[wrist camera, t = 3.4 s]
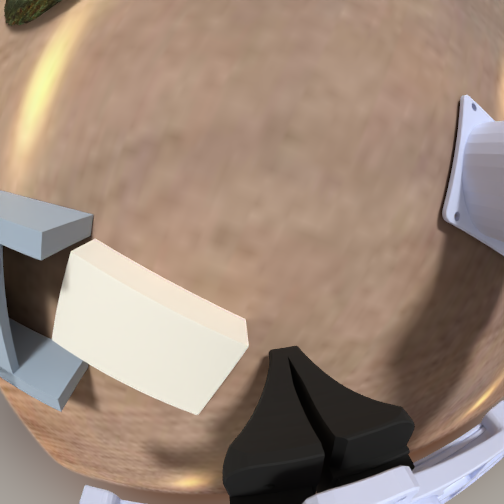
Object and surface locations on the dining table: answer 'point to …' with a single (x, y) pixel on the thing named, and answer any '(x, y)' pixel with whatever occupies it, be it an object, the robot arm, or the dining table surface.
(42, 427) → the dining table surface
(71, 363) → the bracket
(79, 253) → the cream rectangular block
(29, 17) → the seashell
